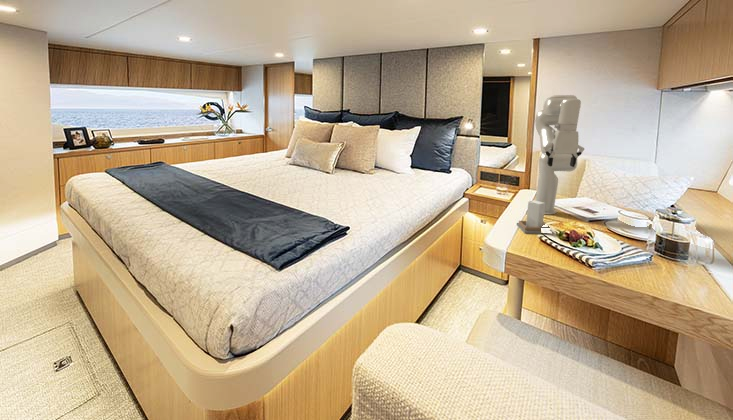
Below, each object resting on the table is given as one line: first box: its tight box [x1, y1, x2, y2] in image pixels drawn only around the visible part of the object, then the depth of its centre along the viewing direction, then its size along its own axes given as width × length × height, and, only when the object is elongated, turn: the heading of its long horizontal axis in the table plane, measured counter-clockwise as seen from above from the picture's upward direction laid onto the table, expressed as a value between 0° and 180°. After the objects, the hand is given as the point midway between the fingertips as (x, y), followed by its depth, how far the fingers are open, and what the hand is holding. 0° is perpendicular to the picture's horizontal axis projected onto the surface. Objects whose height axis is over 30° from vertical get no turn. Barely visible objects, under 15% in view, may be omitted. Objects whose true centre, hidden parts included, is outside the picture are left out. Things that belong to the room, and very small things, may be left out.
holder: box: [516, 220, 551, 235], centre depth 167 cm, size 12×12×2 cm
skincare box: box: [525, 199, 545, 227], centre depth 166 cm, size 6×4×12 cm
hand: (560, 166), depth 166 cm, fingers open, 9 cm apart
